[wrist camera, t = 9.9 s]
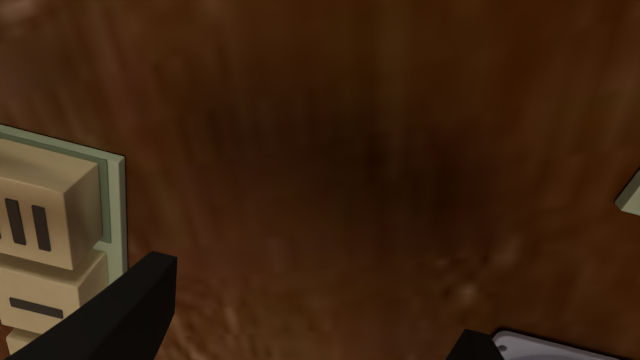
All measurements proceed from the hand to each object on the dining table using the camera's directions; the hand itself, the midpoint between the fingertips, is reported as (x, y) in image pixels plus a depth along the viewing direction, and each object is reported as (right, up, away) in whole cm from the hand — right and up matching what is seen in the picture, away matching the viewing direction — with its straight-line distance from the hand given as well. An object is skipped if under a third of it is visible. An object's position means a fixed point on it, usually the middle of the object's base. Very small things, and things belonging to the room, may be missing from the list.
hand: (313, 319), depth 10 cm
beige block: (-12, +3, +9) cm, 16 cm away
